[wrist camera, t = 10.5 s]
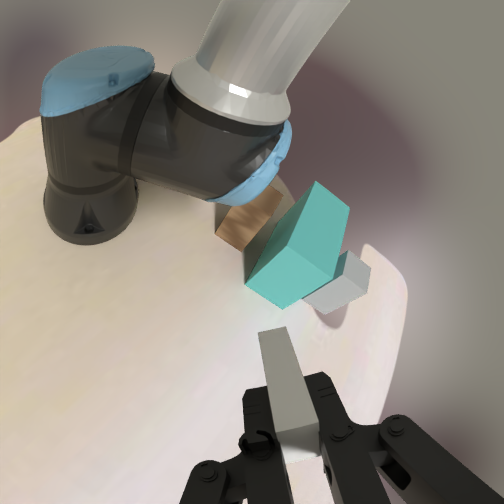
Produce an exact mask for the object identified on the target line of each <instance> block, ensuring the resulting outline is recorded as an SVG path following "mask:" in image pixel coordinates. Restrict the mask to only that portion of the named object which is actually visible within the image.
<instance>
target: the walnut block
mask: <svg viewBox="0 0 504 504" xmlns="http://www.w3.org/2000/svg"><path fill="white" fill-rule="evenodd" d="M282 197H283V195H282V194H281V193H280V192H278V191H277V190H275V189H274V188H273V187H271V186H270V185H268V186H267V187H266V188H265V189H264V191H263V192H262V193H260V194H259V195H258V196H257V197H256V198H255V199H253V200H252V201H250V202H249V203H247V204H244V205H241V206H232V207H231V209H230V210H229V212H228V213H227V215H226V217H225V218H224V220H223V221H222V223H221V225H220V226H219V228H218V229H217V231H216V233H215V234H216V235H217V236H219V237H220V238H222V239H223V240H224V241H226V242H227V243H229V244H230V245H232V246H233V247H235V248H236V249H238V250H239V251H240V252H242V250H243V249H244V248H245V247H246V246H247V245H248V243H249V242H250V241H251V240H252V239H253V237H254V236H255V235H256V234H257V233H258V231H259V230H260V229H261V228H262V227H263V226H264V224H265V223H266V222H267V221H268V220H269V219H270V217H271V216H272V214H273V213H274V211H275V209H276V208H277V206H278V204H279V202H280V201H281V199H282Z"/></svg>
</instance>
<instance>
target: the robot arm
mask: <svg viewBox="0 0 504 504" xmlns="http://www.w3.org/2000/svg"><path fill="white" fill-rule="evenodd" d="M349 2H350V0H221V1H220V3H219V5H218V7H217V9H216V11H215V13H214V15H213V17H212V19H211V21H210V24H209V26H208V28H207V30H206V32H205V35H204V37H203V39H202V41H201V43H200V46H199V48H198V50H197V53H196V54H195V55H193V56H190V57H188V58H186V59H184V60H181V61H179V62H178V63H177V64H175V66H174V67H173V69H172V71H171V74H170V75H167V74H163V73H159V72H155V71H153V70H154V66H155V63H154V58H153V56H152V55H151V54H150V53H149V52H146V51H145V50H144V49H141V48H137V47H131V46H107V47H99V48H94V49H90V50H86V51H83V52H80V53H77V54H74V55H72V56H70V57H68V58H66V59H64V60H62V61H61V62H59V63H58V64H57V65H55V66H54V67H53V68H52V69H51V70H50V71H49V73H48V74H47V75H46V77H45V79H44V81H43V86H42V98H41V99H42V100H41V106H40V114H41V123H42V134H43V142H44V150H45V156H46V163H47V168H48V178H47V184H46V189H45V193H44V199H43V205H44V211H45V215H46V218H47V221H48V224H49V226H50V227H51V229H52V230H53V232H54V233H55V234H56V235H58V236H59V237H60V238H62V239H63V240H65V241H67V242H70V243H73V244H77V245H95V244H100V243H103V242H106V241H108V240H110V239H112V238H114V237H116V236H117V235H119V234H120V233H121V232H122V231H124V230H125V229H126V228H127V226H128V225H129V224H130V222H131V221H132V219H133V217H134V215H135V212H136V208H137V202H138V186H137V182H136V179H135V178H137V179H140V180H143V181H146V182H150V183H153V184H156V185H159V186H162V187H166V188H169V189H172V190H175V191H178V192H181V193H184V194H187V195H191V196H194V197H197V198H200V199H202V200H205V201H207V202H217V203H221V204H225V205H229V206H241V205H244V204H247V203H249V202H250V201H252V200H253V199H255V198H256V197H257V196H258V195H259V194H260V193H262V192H263V191H264V189H265V188H266V187H267V186H268V185H269V184H270V182H271V181H272V180H273V178H274V177H275V175H276V174H277V172H278V170H279V163H280V162H281V161H282V160H283V159H284V158H285V157H286V154H287V152H288V149H289V146H290V143H291V137H292V129H291V124H290V122H289V121H288V120H287V118H288V116H289V114H290V112H291V108H290V104H289V101H288V98H287V95H286V89H287V88H288V86H289V84H290V83H291V82H292V80H293V79H294V77H295V76H296V74H297V73H298V71H299V70H300V68H301V67H302V65H303V64H304V63H305V61H306V60H307V58H308V57H309V55H310V54H311V53H312V51H313V50H314V48H315V47H316V45H317V44H318V43H319V41H320V40H321V39H322V37H323V36H324V35H325V33H326V32H327V31H328V29H329V28H330V27H331V25H332V24H333V23H334V21H335V20H336V19H337V17H338V16H339V15H340V13H341V12H342V11H343V10H344V8H345V7H346V6H347V4H348V3H349ZM258 336H259V342H260V348H261V354H262V359H263V365H264V371H265V376H266V382H267V386H263V387H258V388H253V389H247V390H246V391H245V394H244V396H243V398H242V402H243V415H244V429H245V433H244V434H243V435H242V436H241V437H240V439H239V443H238V445H239V447H240V449H241V453H240V454H238V455H237V456H236V457H234V458H232V459H229V460H227V461H224V462H221V463H220V462H217V461H214V460H206V461H203V462H200V463H198V464H197V465H196V466H194V468H193V470H192V471H191V474H190V476H189V479H188V482H187V484H186V487H185V490H184V492H183V495H182V498H181V500H180V503H179V504H242V503H243V499H246V498H247V501H248V504H294V501H293V496H292V491H291V486H290V482H289V477H288V473H287V469H286V464H289V463H293V462H298V461H302V460H306V459H310V458H314V457H318V456H321V455H322V459H323V463H324V473H326V476H327V480H328V483H329V486H330V490H331V493H332V496H333V499H334V503H335V504H391V503H390V500H389V498H388V496H387V493H386V491H385V489H384V487H383V484H382V482H381V479H380V477H379V475H378V473H377V471H378V472H379V473H380V474H381V475H382V477H383V478H384V479H385V480H386V481H387V482H388V483H389V485H391V487H392V488H393V489H394V490H395V491H396V492H397V493H398V494H399V496H401V498H402V499H403V500H404V501H405V502H406V503H407V504H504V498H502V497H501V496H500V495H499V494H498V493H496V492H495V491H494V490H493V489H492V488H490V487H489V486H488V485H487V484H485V483H484V482H483V481H482V480H481V479H479V478H478V477H477V476H476V475H475V474H473V473H472V472H471V471H470V470H469V469H468V468H466V467H465V466H464V465H463V464H462V463H461V462H459V461H458V460H457V459H456V458H455V457H454V456H452V455H451V454H450V453H449V452H448V451H447V450H445V449H444V448H443V447H442V446H441V445H440V444H439V443H437V442H436V441H435V440H434V439H433V438H432V437H430V436H429V435H428V434H427V433H426V432H425V431H423V430H422V429H421V428H420V427H419V426H418V425H417V424H416V423H414V422H413V421H412V420H411V419H410V418H408V417H407V416H405V415H399V414H398V415H392V416H390V417H387V418H386V419H385V420H384V421H383V422H382V423H381V424H376V425H359V424H356V423H354V422H353V421H352V420H350V418H349V417H348V415H347V413H346V411H345V408H344V406H343V404H342V402H341V400H340V398H339V395H338V394H337V391H336V389H335V387H334V384H333V382H332V380H331V378H330V377H329V376H328V375H326V374H325V373H324V372H323V371H322V372H319V373H315V374H312V375H308V376H304V377H303V374H302V372H301V369H300V366H299V363H298V360H297V357H296V354H295V351H294V349H293V346H292V343H291V340H290V337H289V334H288V331H287V329H286V326H285V327H281V328H277V329H272V330H268V331H263V332H259V333H258ZM376 470H377V471H376Z"/></svg>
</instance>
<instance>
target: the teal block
mask: <svg viewBox="0 0 504 504" xmlns="http://www.w3.org/2000/svg"><path fill="white" fill-rule="evenodd" d="M349 209H350V208H349V207H348V206H347V205H346V204H344V203H343V202H342V201H341V200H339V199H338V198H337V197H336V196H334V195H333V194H332V193H331V192H329V191H328V190H327V189H326V188H324V187H323V186H322V185H320V184H319V183H318V182H317V181H315V182H314V183H313V185H312V186H311V187H310V188H309V189H308V190H307V191H306V192H305V193H304V194H303V196H302V197H301V198H300V199H299V200H298V201H297V202H296V203H295V204H294V205H293V207H292V208H291V209H290V210H289V211H288V212H287V213H286V214H285V215H284V217H283V218H282V219H281V220H280V221H279V222H278V224H277V226H276V227H275V229H274V231H273V233H272V235H271V237H270V239H269V241H268V242H267V244H266V246H265V248H264V250H263V252H262V254H261V255H260V257H259V259H258V261H257V263H256V265H255V267H254V268H253V270H252V272H251V274H250V276H249V278H248V280H247V281H246V283H245V285H246V286H247V287H249V288H250V289H252V290H253V291H255V292H256V293H258V294H259V295H261V296H263V297H264V298H266V299H267V300H269V301H270V302H272V303H273V304H275V305H276V306H278V307H279V308H281V309H284V308H286V307H288V306H289V305H291V304H293V303H294V302H296V301H298V300H299V299H301V298H303V297H304V296H306V295H307V294H309V293H311V292H312V291H314V290H316V289H317V288H319V287H320V286H322V285H324V284H325V283H327V282H328V281H330V280H332V279H333V276H334V272H335V268H336V265H337V261H338V257H339V253H340V249H341V245H342V240H343V236H344V232H345V228H346V223H347V219H348V214H349Z"/></svg>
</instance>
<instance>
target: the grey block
mask: <svg viewBox="0 0 504 504" xmlns="http://www.w3.org/2000/svg"><path fill="white" fill-rule="evenodd" d="M370 271H371V268H370V267H369V266H368V265H367V264H365V263H364V262H363V261H362V260H360V259H359V258H358V257H356V256H355V255H354V254H353V253H352V252H350V251H349V250H347V251H346V252H345V253H343V254H342V255H340V256H339V257H338V261H337V265H336V268H335V272H334V276H333V279H332V280H330V281H328V282H327V283H325V284H324V285H322V286H320V287H319V288H317V289H316V290H314V291H312V292H311V293H309V294H307V295H306V296H304V297H303V299H302V300H303V301H305V302H306V303H308V304H309V305H311V306H312V307H314V308H315V309H317V310H318V311H320V312H321V313H323V314H324V315H325V314H327V313H329V312H331V311H333V310H335V309H337V308H339V307H341V306H343V305H345V304H347V303H349V302H351V301H353V300H355V299H357V298H359V297H361V296H363V295H364V294H366V293H367V290H368V284H369V277H370Z"/></svg>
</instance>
